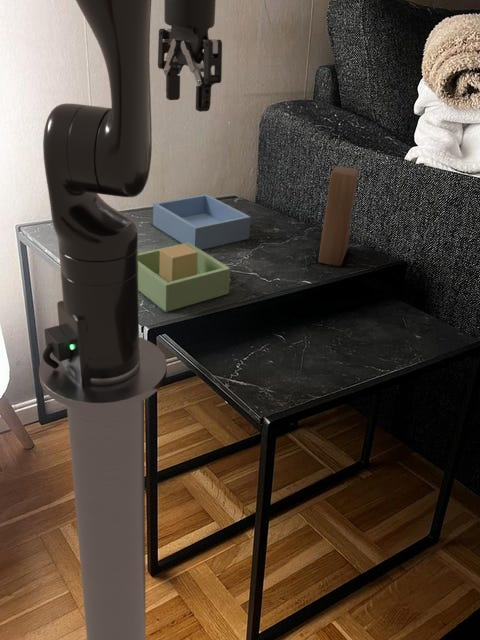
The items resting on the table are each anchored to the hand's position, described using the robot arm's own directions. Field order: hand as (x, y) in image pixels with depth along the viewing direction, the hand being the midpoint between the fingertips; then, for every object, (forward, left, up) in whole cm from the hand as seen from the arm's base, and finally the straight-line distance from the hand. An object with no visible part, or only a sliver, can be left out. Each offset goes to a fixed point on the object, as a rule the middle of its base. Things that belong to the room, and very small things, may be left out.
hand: (187, 105), depth 98 cm
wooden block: (+29, -10, -29) cm, 42 cm away
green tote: (-5, -6, -29) cm, 30 cm away
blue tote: (+13, +13, -29) cm, 34 cm away
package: (-5, -6, -28) cm, 29 cm away
